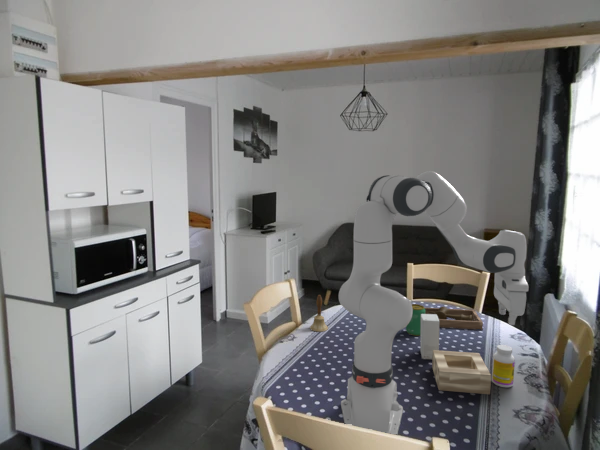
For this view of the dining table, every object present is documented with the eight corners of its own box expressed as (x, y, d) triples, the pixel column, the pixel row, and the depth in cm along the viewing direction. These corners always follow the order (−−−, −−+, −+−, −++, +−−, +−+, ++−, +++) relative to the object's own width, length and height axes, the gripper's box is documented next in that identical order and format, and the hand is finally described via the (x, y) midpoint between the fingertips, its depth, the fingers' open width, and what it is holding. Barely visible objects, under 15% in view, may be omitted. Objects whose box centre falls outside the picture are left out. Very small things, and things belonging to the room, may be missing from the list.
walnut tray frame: (482, 329, 188) (482, 322, 187) (422, 326, 192) (422, 319, 192) (473, 316, 204) (474, 310, 203) (418, 313, 208) (418, 307, 208)
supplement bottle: (514, 389, 138) (517, 353, 136) (492, 386, 140) (494, 350, 138) (511, 380, 144) (514, 345, 142) (490, 376, 146) (493, 342, 144)
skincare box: (438, 360, 159) (440, 321, 156) (420, 359, 160) (422, 320, 158) (436, 351, 167) (437, 313, 164) (419, 349, 168) (420, 312, 166)
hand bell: (331, 327, 192) (331, 293, 190) (322, 333, 185) (322, 298, 183) (315, 323, 196) (315, 291, 194) (306, 329, 189) (306, 295, 187)
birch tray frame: (490, 395, 135) (491, 375, 134) (438, 390, 138) (439, 371, 137) (477, 371, 151) (478, 353, 150) (432, 367, 154) (432, 350, 153)
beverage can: (428, 333, 184) (429, 307, 182) (416, 337, 180) (417, 311, 178) (414, 327, 191) (415, 302, 189) (402, 331, 186) (403, 305, 185)
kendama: (469, 330, 189) (425, 320, 199) (473, 323, 197) (430, 315, 207) (471, 317, 188) (426, 308, 198) (474, 311, 196) (431, 303, 207)
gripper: (490, 270, 147) (488, 307, 149) (508, 287, 127) (505, 330, 129) (509, 271, 146) (506, 308, 148) (530, 288, 126) (527, 331, 128)
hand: (506, 318), depth 139 cm, fingers open, 8 cm apart
